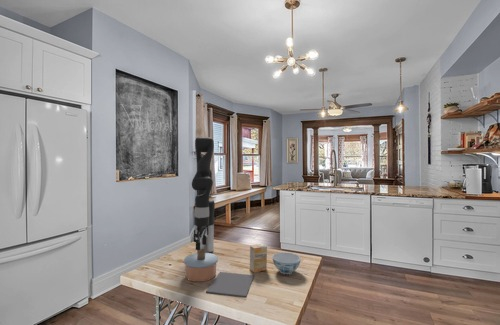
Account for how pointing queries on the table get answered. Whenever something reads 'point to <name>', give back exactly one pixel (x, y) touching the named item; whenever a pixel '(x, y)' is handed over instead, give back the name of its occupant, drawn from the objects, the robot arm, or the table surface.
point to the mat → (231, 284)
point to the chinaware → (286, 262)
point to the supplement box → (258, 258)
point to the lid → (200, 259)
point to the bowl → (200, 273)
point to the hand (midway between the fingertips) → (201, 247)
